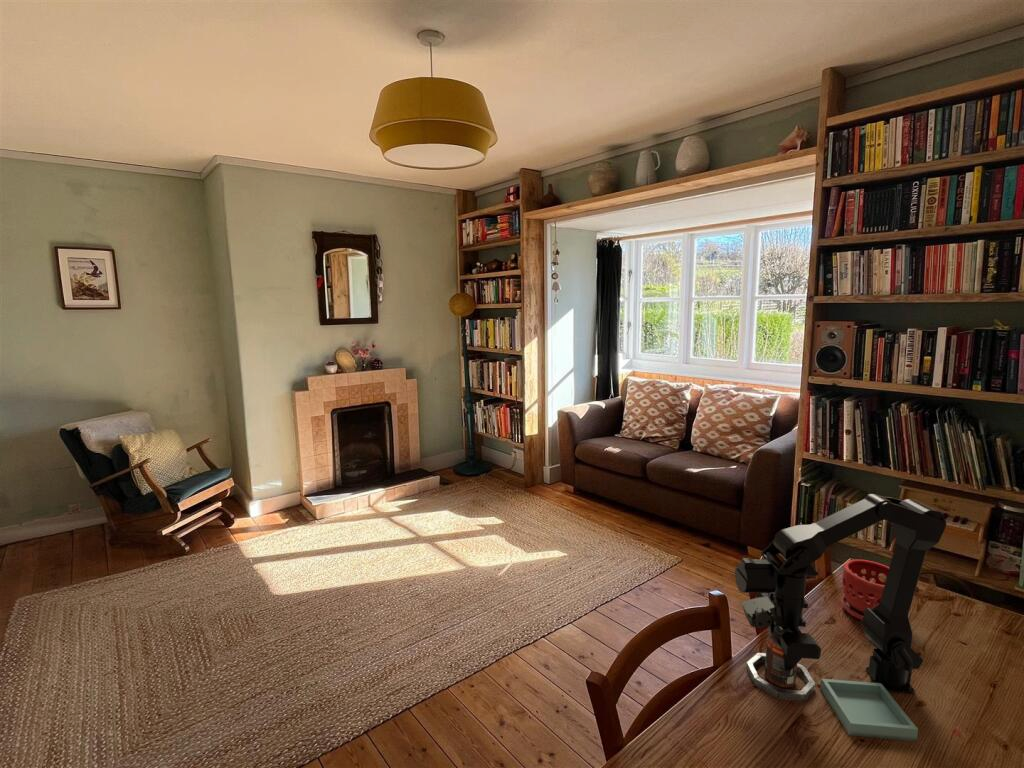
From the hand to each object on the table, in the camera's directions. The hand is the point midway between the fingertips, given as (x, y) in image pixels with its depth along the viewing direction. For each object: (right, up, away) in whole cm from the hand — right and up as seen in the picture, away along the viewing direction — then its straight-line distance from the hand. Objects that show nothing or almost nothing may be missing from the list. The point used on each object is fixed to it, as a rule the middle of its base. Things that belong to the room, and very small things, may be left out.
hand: (781, 659), depth 111 cm
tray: (+12, -6, -8) cm, 16 cm away
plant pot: (+35, -1, +24) cm, 42 cm away
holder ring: (0, -4, +1) cm, 4 cm away
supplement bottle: (0, -5, +1) cm, 5 cm away
